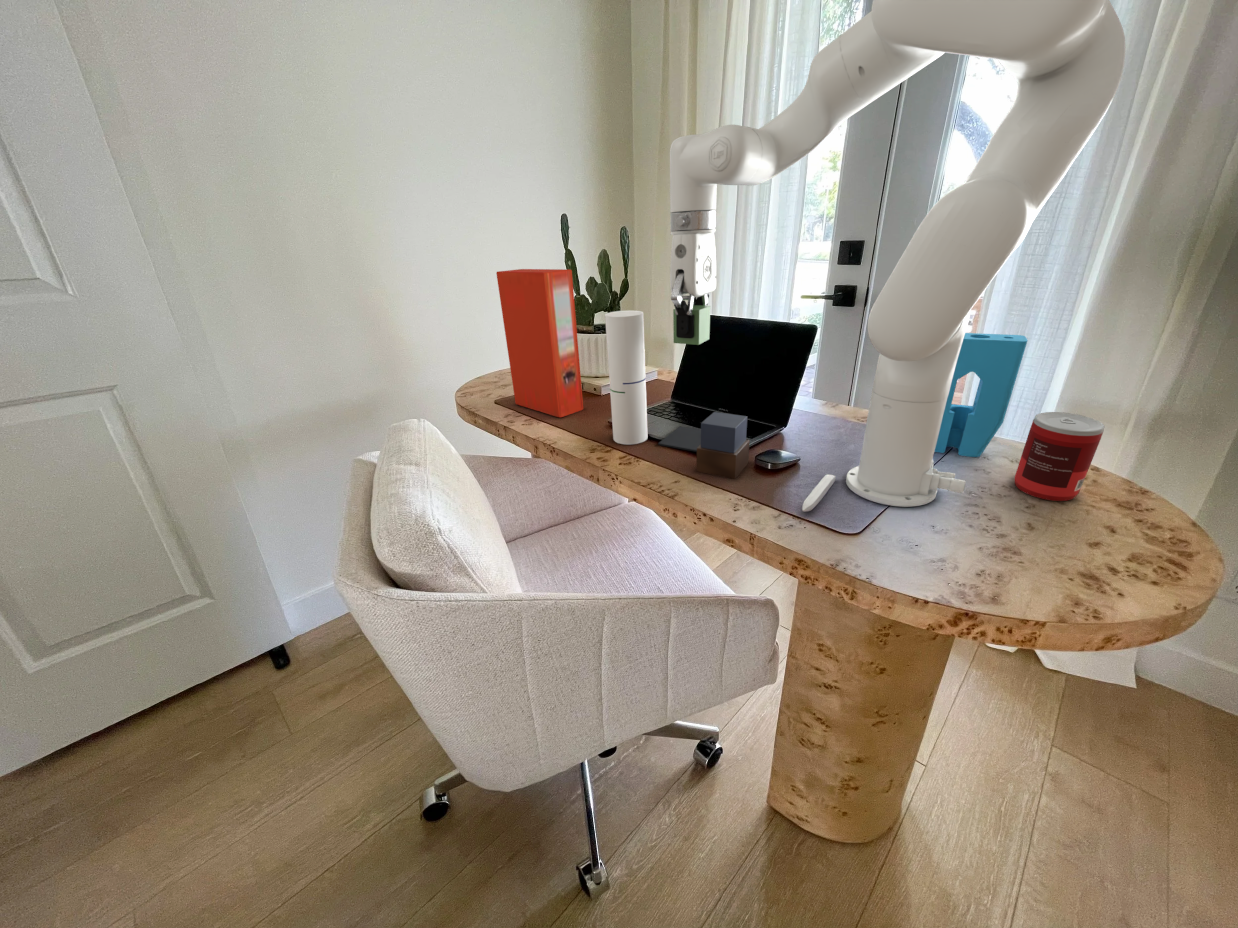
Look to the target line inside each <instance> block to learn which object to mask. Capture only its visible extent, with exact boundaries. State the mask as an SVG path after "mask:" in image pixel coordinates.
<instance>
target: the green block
mask: <svg viewBox="0 0 1238 928" xmlns="http://www.w3.org/2000/svg"><path fill="white" fill-rule="evenodd" d="M672 311H673V313H672V315H673V317H672V318H673V320H672V321H673V322H672V323H673V324H672V326H673V327H672V328H673V330H672V331H673V336H672V337H673V344H681V345H695V346H699V345H702V344H703V343H704V342H707V341H709V340H710V335H711V333H710V332H711V305H708V306H702V305H693V310H692V315H694V337H693V338H678V337H677V336H676V314H675V308H673V310H672Z"/></svg>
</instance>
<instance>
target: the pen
mask: <svg viewBox="0 0 1238 928" xmlns="http://www.w3.org/2000/svg"><path fill="white" fill-rule="evenodd" d="M835 482H836V475H833V474H827V473H826V474H825V475H824V476H823V477H822V478H821V480H820V481H819V482H818V483H817V484H816V486H815V487H814V488H813V489H812V490H811V491H810V493H809V494H808V496H807V497H806V498H805V499H804V501H803V503H802V507H801V511H802V512H806V513H807V512H811V511H812V510H813V509H814V508H815V507H816V506H817V505H818V504H819V503H820V502H821V501H822V499H823V498H824V497H825V495H826V494H827V493H828V491H829V490H830V489H831V487H832V486H833V485H834V483H835Z"/></svg>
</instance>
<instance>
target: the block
mask: <svg viewBox="0 0 1238 928" xmlns="http://www.w3.org/2000/svg"><path fill="white" fill-rule="evenodd" d="M1028 341H1029V340H1028V338H1027V337H1026V336H1025V335H1022V334H1006V333H1005V334H1004V333H1003V334H1001V333H980V332H979V333H978V332H977V333H976V332H965V336H964V339H963V342H962V346H961V349H960V352H959V356H958V359H957V363H956V367H955V371H954V375H953V378H952V383H951V387H950V391H949V395H948V398H947V402H946V406H945V410H944V414H943V418H942V422H941V426H940V431H939V435H938V439H937V443H936V447H935V451H934V453H941V454H944V453H945V452H946V449H947V448H948V447H949V448H955V449H957V454H958V456H961V457H969V458H980V457H981V456H982V454H983V453H984V451H985V450H986V449H987V447H988V445H989V444H990V443H991V441H992V439H993V438H994V437H995V436H996V434H997V432H998V431H999V429H1000V428H1001V427H1002V425H1003V424H1004V421H1005V417H1006V415H1007V414H1006V413H1007V411H1008V407H1009V405H1010V400H1011V398H1012V394H1013V391H1014V389H1015V388H1014V387H1015V384H1016V380H1017V379H1018V374H1019V370H1020V367H1021V364H1022V361H1023V357H1024V354H1025V351H1026V349H1027V348H1026V347H1027V344H1028ZM970 373H974V374H975V375H976V376H977V377H978V378H979V382H978V385H977V389H976V393H975V397H974V400H973V404H972V405H965V404H955V403H953V400H954V396H955V391H956V388H957V384H958V380H960V379H962V378H963V377H965V376H966V375H969V374H970Z"/></svg>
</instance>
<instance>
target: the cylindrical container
mask: <svg viewBox="0 0 1238 928" xmlns="http://www.w3.org/2000/svg"><path fill="white" fill-rule="evenodd" d="M644 316H645V315H644V311H641V310H636V309H635V310H632V309H630V310H629V309H627V310H616V311H610V312H607V313H604V320H605V335H606V337H605V338H606V349H607V351H606V352H607V365H608V366H607V367H608V381H609V394H610V409H611V423H612V439H613V441H614V442H615V443H617V444H621V445H627V446H630V445H638V444H642V443H644V442H646V441H647V440H648V439H649V438H648V437H649V436H648V406H647V378H646V376H647V375H646V352H645V351H646V349H645V347H646V346H645V320H644V318H645V317H644Z"/></svg>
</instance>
